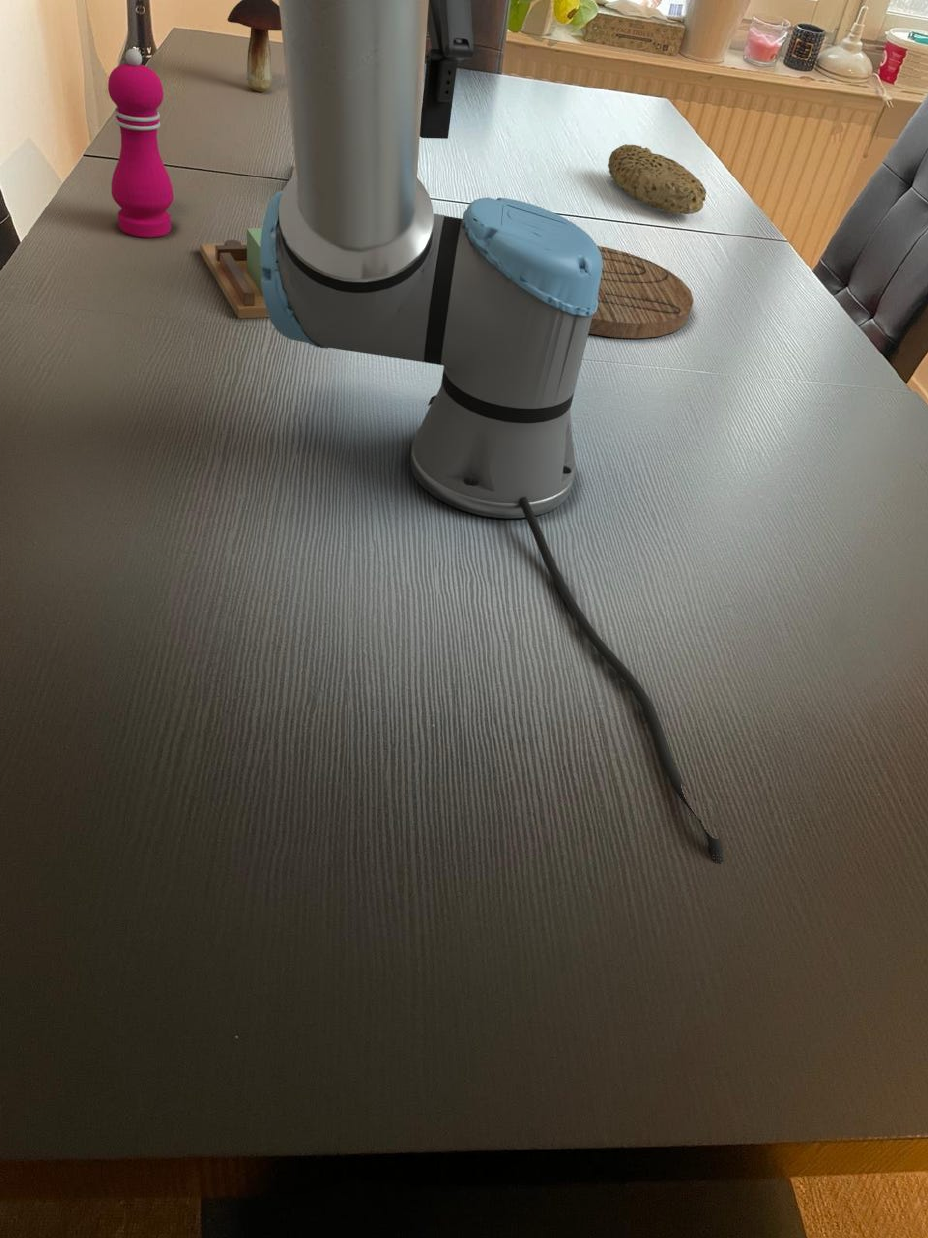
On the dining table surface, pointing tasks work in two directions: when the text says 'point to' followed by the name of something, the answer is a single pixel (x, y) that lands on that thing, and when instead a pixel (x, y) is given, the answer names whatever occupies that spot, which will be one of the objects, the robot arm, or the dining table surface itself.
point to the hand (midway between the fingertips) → (403, 116)
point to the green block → (254, 256)
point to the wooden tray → (234, 277)
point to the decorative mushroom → (258, 37)
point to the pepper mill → (139, 151)
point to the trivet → (638, 298)
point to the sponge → (656, 180)
